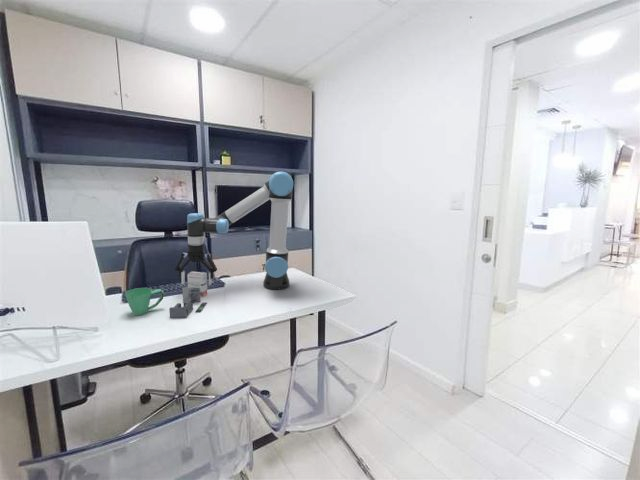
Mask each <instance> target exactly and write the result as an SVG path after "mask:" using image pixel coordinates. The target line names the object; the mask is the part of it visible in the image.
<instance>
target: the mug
mask: <svg viewBox="0 0 640 480" xmlns="http://www.w3.org/2000/svg"><path fill="white" fill-rule="evenodd" d="M157 293H158V294H159V293H160V297H159V298H158V300H157V301H156V302H155V303H154V304H152V305H150V302H151V296H152V295H154V294H157ZM164 295H165V292H164V291H163V290H162V289H161V288H157V289H154V290H152V288H149V287H138V288H133V289H130V290H127V291H126V292H125V299H126V300H127V303H128V307H129V308H130V310H131V312H132V313H133V315H135V316H142V315H145V314H147V312H149V311H150V310H152V309H154V308H156V307H157V306H158V305H159V304H160V303H161V302H162V301H163V299H164ZM149 305H150V306H149Z"/></svg>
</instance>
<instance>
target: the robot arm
mask: <svg viewBox="0 0 640 480" xmlns="http://www.w3.org/2000/svg"><path fill="white" fill-rule="evenodd" d="M293 188H294V180H293V177H292V176H291V175H290V174H289V173H288V172H285V171H276V172H274V173H273V174H272V175H271V176H270V177H269V180H267V181H266V182H265V183H263V186H262V187H260V188H259V189H257V190H256V191H254V192H253V193H251V194H250V195H248V196H247V197H245V198H244V199H242V200H241V201H239V202H237V203H236V204H234V205H233V206H231V207H230V208H228V209H227V210H225V211H224V212H222V213H221V214H219V215H217V216H216V217H205V216H204V214H203V213H199V212H198V213H197V212H195V213H189V214H187V216H186V217H187V221H186V226H187V229H186V230H187V244H188V245H187V252H182V253H181V255H180V259H179V261H178V263H177V265H176V267H175V270H174V271H176V272H179V273H178V274H179V275H178V276H179V278H180V279H181V284H180V285H182V286H183V285H184V284H185V283H186V280H185V279H186V277H185V275H186V271H185V269H186V268H187V266H189V264H190V263H191V262H192V263H201V264H202V265H203V266H204V267H205V268H206V269H207V270H208V286H211V285H212V284H213V281H212V280H213V279H214V275H215V274H214V273H216V272H217V271H218V268H217V266H216V264H215V262H214V260H213V258H212V256H211V255H212V253H211V252H209V253H205V244H204V243H205V240H204V239H205V236H204V233H205V234H206V233H207V234H227V233H228V232H229V226H231V225H233V224H234V223H236V222H237V221H239V220H240V219H242V218H244V217H245V216H247V215H248V214H249V213H250V212H253V211H254V210H255V209H257V208H258V207H260V206H262V205H263V204H265V203H266V202H267V201H269V200H270V201H271V206H270V207H271V210H270V224H269V225H270V229H269V246H268V247H267V248H266V251H265V264H264V269H265V272H266V273H265V276H264V279H263V282H262V283H263V288H265V289H267V290H272V291H273V290H274V291H279V290H280V291H281V290H284V289H287V288H289V287H290V279H289V276H288V273H287V272H288V269H289V263H288V261H289V250H288V248H287V235H288V234H287V233H288V232H287V231H288V217H289V215H288V214H289V203H290V202H291V201H293V200H292V199H293ZM185 258H188V260H187V261H186V262H185V263H184V264H183V262H184V260H185ZM205 258H206V259H207V261H208V262H207V261H206V259H205ZM182 265H183V266H182Z"/></svg>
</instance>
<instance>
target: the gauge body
mask: <svg viewBox="0 0 640 480" xmlns="http://www.w3.org/2000/svg"><path fill="white" fill-rule="evenodd" d="M207 304H208V302H206V301H205V302H204V301H203V302H201V304H200V305H199V306H198V307H197V308H196V310H195V314H197V313H198V314H199V313H202V311H203V310H204V308H205V306H206V305H207ZM193 310H194V302H193V303H189V304H188V305H187V306H186V307H184V306H182V303H180V302H179V303H178V302H177V303H176V304H175V305H174V306H170V307H169V319H187V318H188V316H189V315H190V314H191V313H192V312H193Z"/></svg>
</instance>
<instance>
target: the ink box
mask: <svg viewBox="0 0 640 480" xmlns="http://www.w3.org/2000/svg"><path fill="white" fill-rule="evenodd" d="M186 276H187V287H200V292H205V296H206V295H207V294H208V272H204V271H190V272H188V273H187V274H186ZM205 296H203V294H200V298H204V297H205Z"/></svg>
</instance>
